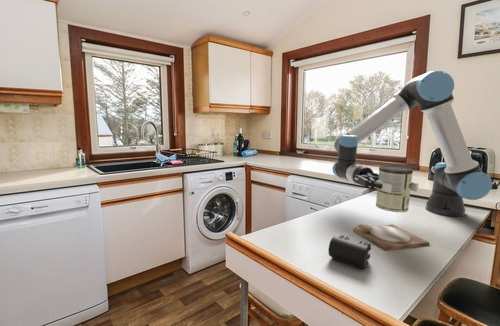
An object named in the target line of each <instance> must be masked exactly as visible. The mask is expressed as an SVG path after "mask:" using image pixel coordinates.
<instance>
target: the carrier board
mask: <svg viewBox="0 0 500 326" xmlns="http://www.w3.org/2000/svg"><path fill="white" fill-rule="evenodd" d="M352 229H353V230H352V231H353V232H354V233H356V234H358V235H359V236H361V237H362V238H364V239H365V240H367V241H368V242H369V243H372V244H373V245H375V246H377V247H378V248H380V249H381V250H383V251H390V250H399V249H406V248H407V249H408V248H413V247H414V248H416V247H422V246H423V247H424V246H429V245H430V241H428V240H427V239H424V238H422V237H420V236H418V235H416V234H413V233H412V232H409V231H408V230H405V229H403V228H401V227H399V226H397V225H394V224H383V225H373V226H370V225H368V224H358V225H357V227H354V228H352Z"/></svg>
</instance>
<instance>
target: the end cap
mask: <svg viewBox="0 0 500 326" xmlns="http://www.w3.org/2000/svg"><path fill="white" fill-rule="evenodd" d="M350 240H351V238H350V236H346V235H343V234H342V235H341V234H340V235H339V236H338V237H337V236H332V238H331V239H330V241H329V246H328V255H329V257H331V258H332V259H333V260H335V261H339V262H342V263H345V264H347V265H350V266H352V267H356V268H359V269H361V270H365V269H366V268H367V267H368V266H369V264H370V263H369V262H370V261H369V260H370V257H371V253H369V252H370V251H371V250H372V247H371V246H372V245H371V242H367V241H363V240H358V242H354V241H350Z"/></svg>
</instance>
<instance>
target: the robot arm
mask: <svg viewBox="0 0 500 326" xmlns="http://www.w3.org/2000/svg"><path fill="white" fill-rule="evenodd" d="M454 89H455V81H454V78H453V77H452V76H451V75H450V74H449V73H447V72H445V71H442V70H432V71H428V72H426V73H423V74H421V75H418V76H416V77H414V78H411V80H409V81H408V82H406V84H404V86H402V87H401V88H400V89H399V90H398V91H397V92H395V93H394V94H393V96H392V98H391V99H390V100H389V101H387V102H385V104H383V105H382V106H381V107H379V108H378V109H377V110H375V111H374V112H372V114H371V113H370V115H368V116H367V117H366V118H365V119H363V120H362V121H361V122H360V123H358V124H357V125H355V126H354V127H352V129H350V130H348V132H347V133H345V134H340V136H339V137H338V138H337V139H335V141H334V145H333V146H334V149H335V152H337V153H338V154H337V161H335V162H334V163H333V165H332V173H333V175H335V177H338V178H339V179H342V180H346V181H349V182H351V183H353V184H354V185H355V184H357V185H359V186H363V187H365V188H370V190H372V191H375V189H379V190H382V191H385V192H388V193H391V190H392V185H391V184H388V183H384V182H381V181H378V178H379V173H377V172H376V173H375V172H374V171H373V169H372V168H371V167H368V166H363V165H361V164H357V163H356V160H357V150H358V145H359V144H361V143H362V142H364V141H366V139H368V138H369V137H370V136H372V135H374V133H376V132H377V131H378V130H379V129H381V128H382V127H384V126H385V125H386V124H388V123H390V121H392V120H394V119H395V118H396V117H398V116H399V115H400V114H401V113H403V112H408V111H410V110H411V109H412V108H414V107H416V106H417V105H418V107H419V110H420V112H423V113H425V114H426V116H427V118H428V121H429V123H430V126H431V128H432V129H431V130H432V131H433V134H434V136H435V138H436V141H437V144H438V147H439V149H440V152H441V154H442V157H443V159H444V161H445V162H438V163H436V164H435V168H434V172H433V173H434V174H433V182H432V190H431V194H430V195H429V198H428V200H427V202H426V203H425V209H426V210H427V211H429V212H431V213H434V214H437V215H441V216H449V217H464V216H465V215H466V208H465V203H464V199H465V200H469V201H470V200H471V201H476V200H480V199H483V198H485V197H486V196H487V195H489V193H490V191H491V190H492V187H493V181H492V179H491V177H490V176H489V175H488V173H486V172H483V171H482V168H481V166H480V163H479V162H478V161H476V160H474V159H472V156H471V153H470V151H469V148H468V145H467V143H466V140H465V138H464V135H463V133H462V130H461V127H460V125H459V122H458V119H457V117H456V114H455V112H454V109H453V106H452V104H453V102H454V100H455V98H454V95H453V91H454ZM418 190H419V183H417V182H413V181H411V190H410V191H412V192H419V191H418Z"/></svg>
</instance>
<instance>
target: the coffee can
mask: <svg viewBox="0 0 500 326" xmlns="http://www.w3.org/2000/svg"><path fill="white" fill-rule="evenodd" d="M378 169H379V170H378V174H379V178H378V181H381V182H384V183H388V184H391V185H392V190H391V193H388V192H385V191H382V190H379V189H377V191H376V202H375V207H376V208H377V209H380V210H382V211H386V212H392V213H407V212H408V211H409V208H410V207H409V206H410V205H409V204H410V199H411V198H410V196H411V191H412V190H411V182H413V179H412V178H413V172H414V169H413V168H411V167H406V166H398V165H380V166H378Z"/></svg>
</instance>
